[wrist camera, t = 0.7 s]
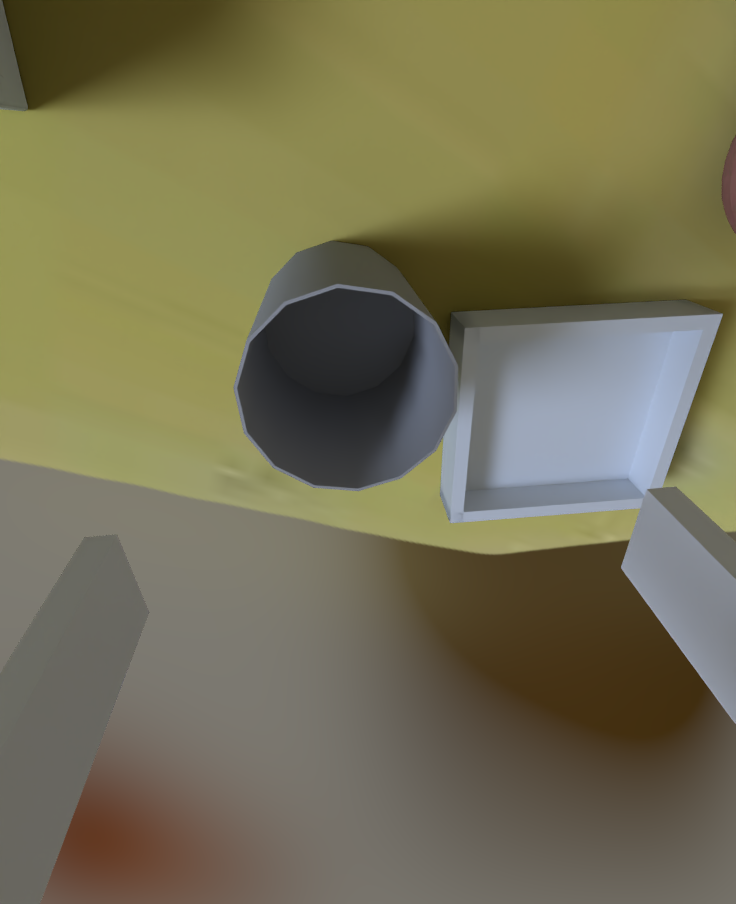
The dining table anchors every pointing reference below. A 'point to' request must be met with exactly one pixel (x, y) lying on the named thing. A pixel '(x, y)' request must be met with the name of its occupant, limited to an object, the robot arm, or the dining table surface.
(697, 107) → the dining table surface
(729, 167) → the mitochondrion model
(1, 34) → the small box
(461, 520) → the grey tray
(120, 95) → the dining table surface
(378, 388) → the cup
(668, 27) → the dining table surface
